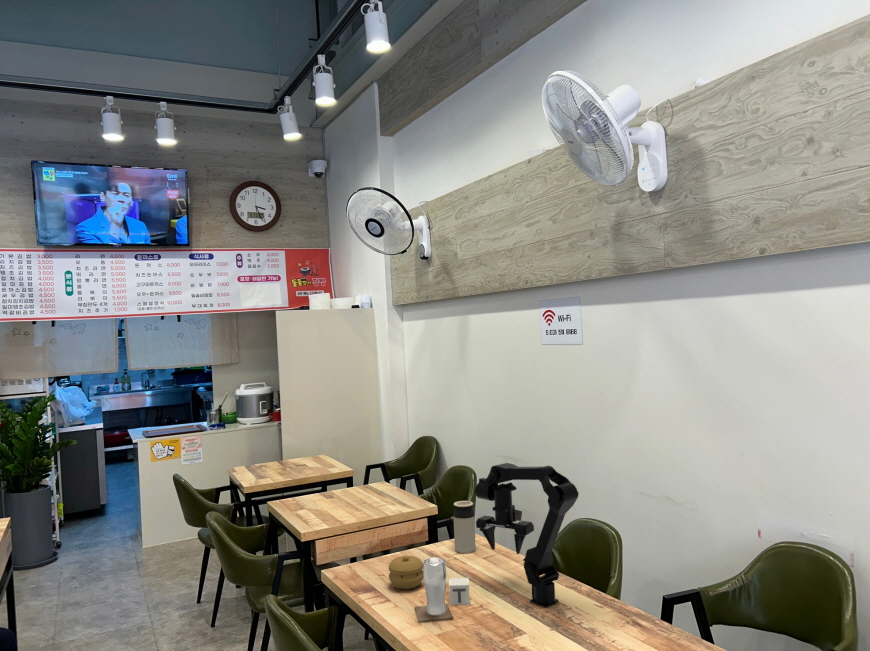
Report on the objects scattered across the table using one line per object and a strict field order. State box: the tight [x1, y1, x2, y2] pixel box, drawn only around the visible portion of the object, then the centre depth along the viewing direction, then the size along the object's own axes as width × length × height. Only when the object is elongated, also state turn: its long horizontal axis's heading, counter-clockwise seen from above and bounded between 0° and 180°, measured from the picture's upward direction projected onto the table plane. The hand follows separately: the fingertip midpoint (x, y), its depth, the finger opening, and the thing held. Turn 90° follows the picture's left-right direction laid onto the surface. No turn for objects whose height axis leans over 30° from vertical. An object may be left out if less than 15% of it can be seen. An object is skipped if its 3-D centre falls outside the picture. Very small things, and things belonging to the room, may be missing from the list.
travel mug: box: [452, 500, 476, 554], centre depth 249 cm, size 8×8×18 cm
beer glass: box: [422, 557, 448, 616], centre depth 192 cm, size 7×7×15 cm
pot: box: [388, 555, 423, 590], centre depth 215 cm, size 12×12×10 cm
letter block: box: [448, 577, 470, 606], centre depth 201 cm, size 6×6×6 cm
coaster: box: [414, 603, 454, 624], centre depth 192 cm, size 10×10×1 cm
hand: (505, 551), depth 209 cm, fingers open, 9 cm apart
